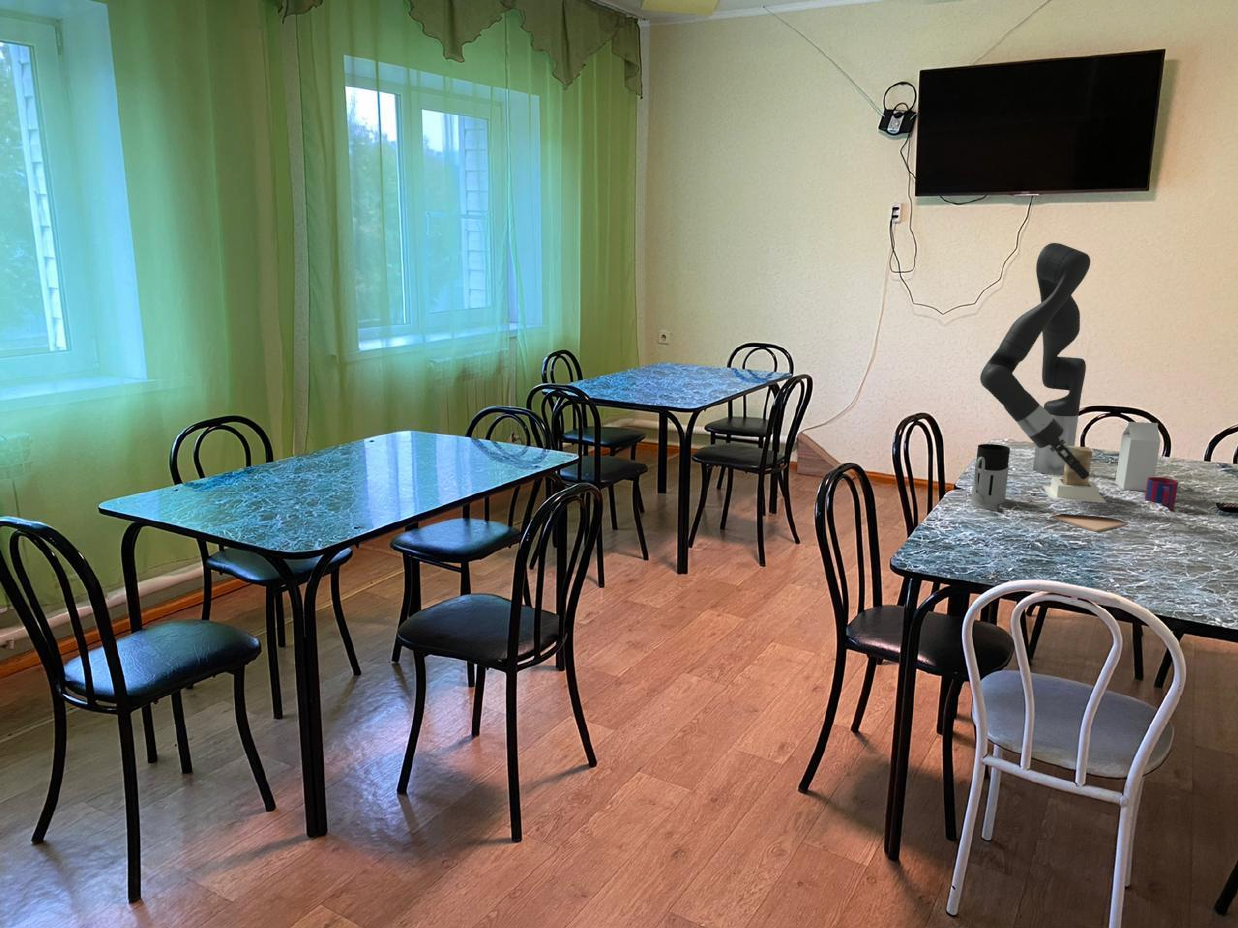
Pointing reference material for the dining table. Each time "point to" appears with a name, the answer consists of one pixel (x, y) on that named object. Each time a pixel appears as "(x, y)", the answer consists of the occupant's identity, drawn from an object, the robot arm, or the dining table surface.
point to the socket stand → (1073, 491)
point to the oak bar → (1085, 459)
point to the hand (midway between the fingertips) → (1084, 474)
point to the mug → (1161, 491)
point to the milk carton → (1138, 455)
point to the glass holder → (990, 476)
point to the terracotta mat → (1090, 521)
